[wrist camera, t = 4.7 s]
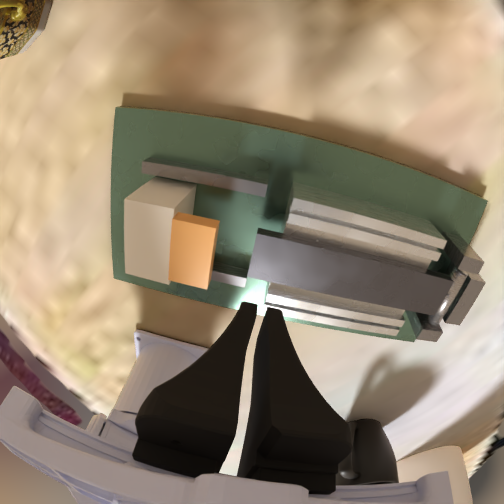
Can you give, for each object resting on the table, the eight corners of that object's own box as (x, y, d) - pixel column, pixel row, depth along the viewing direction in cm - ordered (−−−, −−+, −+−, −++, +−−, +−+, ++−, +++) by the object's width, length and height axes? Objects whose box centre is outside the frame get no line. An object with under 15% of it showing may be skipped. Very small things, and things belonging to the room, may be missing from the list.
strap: (436, 316, 20) (441, 326, 19) (247, 277, 20) (244, 287, 19) (463, 268, 18) (470, 277, 17) (260, 215, 18) (259, 223, 17)
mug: (376, 391, 29) (388, 467, 21) (394, 430, 34) (403, 489, 26) (309, 411, 32) (308, 484, 24) (339, 446, 37) (341, 503, 28)
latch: (221, 257, 22) (206, 296, 18) (151, 241, 22) (123, 274, 18) (232, 191, 20) (217, 219, 16) (154, 176, 20) (122, 200, 16)
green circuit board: (416, 336, 25) (429, 371, 21) (117, 273, 25) (93, 303, 21) (487, 199, 18) (518, 223, 14) (121, 106, 18) (85, 112, 14)
